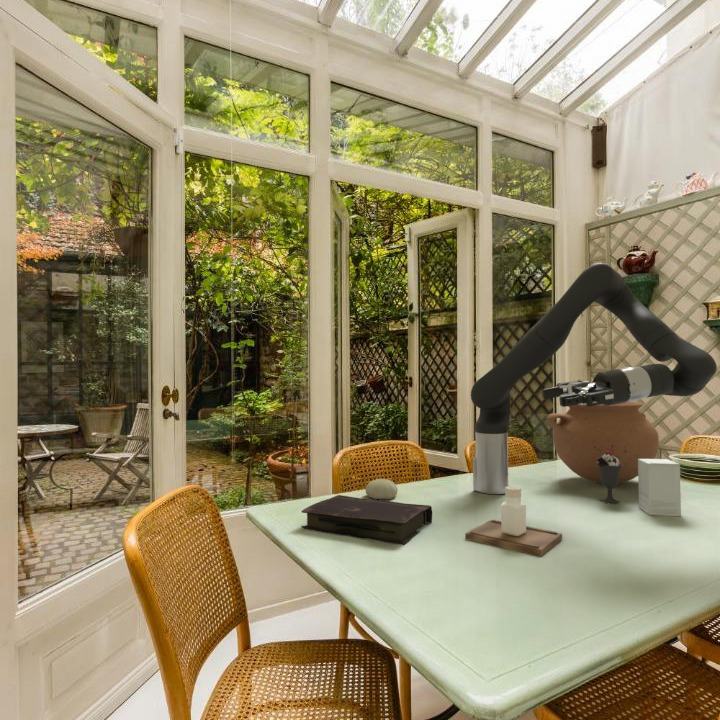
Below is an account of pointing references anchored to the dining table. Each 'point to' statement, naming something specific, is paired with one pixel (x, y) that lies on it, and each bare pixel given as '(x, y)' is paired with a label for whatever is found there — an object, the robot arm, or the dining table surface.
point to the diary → (368, 518)
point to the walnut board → (515, 538)
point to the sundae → (609, 474)
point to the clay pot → (603, 438)
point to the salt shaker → (513, 512)
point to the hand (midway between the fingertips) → (551, 398)
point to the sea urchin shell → (381, 489)
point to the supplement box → (659, 487)
